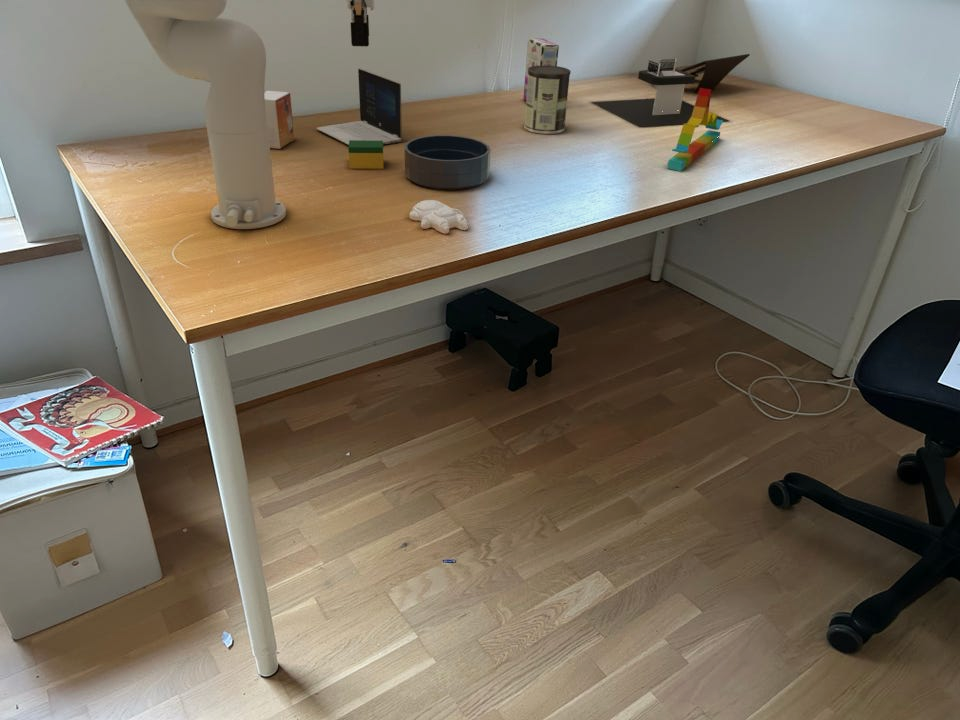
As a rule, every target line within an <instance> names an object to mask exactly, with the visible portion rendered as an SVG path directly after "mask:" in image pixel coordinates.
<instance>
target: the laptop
mask: <svg viewBox="0 0 960 720" xmlns="http://www.w3.org/2000/svg"><path fill="white" fill-rule="evenodd" d="M357 70H358V71H357V77H358V93H359V94H358V95H359V96H358V98H359V114H360V115H359V116H360V117H359V118H360V120H356V121H351V122H344V123H338V124H336V123H335V124H331V125H325V126H318V127H317V126H316V128H315V129H316V130H318V131H320V132H322V133H323V134H325V135H327V136H329V137H331V138H333V139H335V140H337V141H339V142H341V143H343V144H345V145H347V146H349V140H365V141H383V145H388V144H395V143H400V142H402V140H403V139H402V138H403V130H402V129H403V126H402V125H403V124H402V119H403V118H402V85H401V82H398V81H395V80H393V79H390V78H387V77H384V76H383V75H379V74H376V73H373V72H371V71H368V70H365V69H362V68H358V69H357Z"/></svg>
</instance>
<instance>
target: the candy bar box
mask: <svg viewBox="0 0 960 720" xmlns="http://www.w3.org/2000/svg"><path fill="white" fill-rule="evenodd" d="M559 47H560V45H558V44H556V43H554V42H553V41H550V40H547V39H545V38H538V37H537V38H535V37H534V38H528V39H527V49H526V61H525V62H526V63H525V74H524V75H525V76H524V85H523V86H524V87H523V99H522V100H523V101H524V102H526V99H527V83H528V68H529V67H532V66H541V65H543V66H544V65H547V66H558V58H559V50H560V49H559Z"/></svg>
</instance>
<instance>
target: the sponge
mask: <svg viewBox="0 0 960 720" xmlns="http://www.w3.org/2000/svg"><path fill="white" fill-rule="evenodd" d="M347 149H348V165H349V169H351V170H352V169H353V170H355V169H356V170H357V169H362V170H364V169H366V170H373V169H374V170H384V168H385V167H384V162H385V161H384V144H383V141H365V140H349V145H348V147H347Z"/></svg>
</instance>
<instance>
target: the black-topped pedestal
mask: <svg viewBox="0 0 960 720" xmlns="http://www.w3.org/2000/svg"><path fill="white" fill-rule="evenodd" d="M647 64H648V65H647V69H646V70H639V71H638V75H637V76H638V77H637V79H638V80H640V81H642V82H645V83H647V84H650V85H652V86H653V87H654V88H655V89H656V90H655V96H654V98H641V99H640V98H639V99H637V98H636V99H622V100H621V99H620V100H603V101H602V100H601V101H592V103H593V104H594V105H597V106H599V107H600V108H603V109H604V110H606V111H608V112H610V113H612V114H614V115H616V116H618V117H620V118H622V119H623V120H625V121H627V122H629V123H632V124H633V125H636V126H637V127H640V128H643V127H644V128H645V127H647V128H648V127H660V126H675V125H684V124H686V123H688V121H689V120H690V118H691V116H692V113H693V109H694V106H695V104H692V103H688V102H687V101H684V100H683V98H684V92H685V87H686V85H695V82H696V81H695V80H696V77H695V76H694V75H691V74H689V73H690V72H688V73H686V72H683V71H680V70H681V69H677V68H676V65H677V58H674V59H672V58H671V59H669V58H668V59H661V58H659V60H658V62H655V61H653V60H651V59H648V63H647ZM677 110H679V111H677ZM662 111H663V112H662ZM717 119H718V120H723V122H730V120H729V119H727V118H724V117H722V116H719V115H717Z"/></svg>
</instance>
